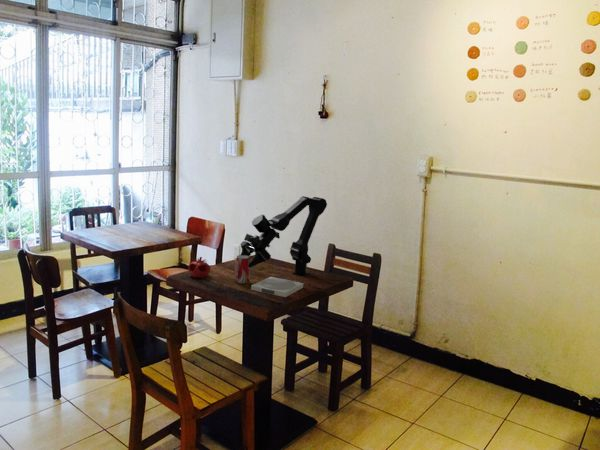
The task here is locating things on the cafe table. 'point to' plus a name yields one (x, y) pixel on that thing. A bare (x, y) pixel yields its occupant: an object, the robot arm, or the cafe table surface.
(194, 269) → the pomegranate
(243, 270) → the soda can
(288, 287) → the scale
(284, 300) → the cafe table surface
